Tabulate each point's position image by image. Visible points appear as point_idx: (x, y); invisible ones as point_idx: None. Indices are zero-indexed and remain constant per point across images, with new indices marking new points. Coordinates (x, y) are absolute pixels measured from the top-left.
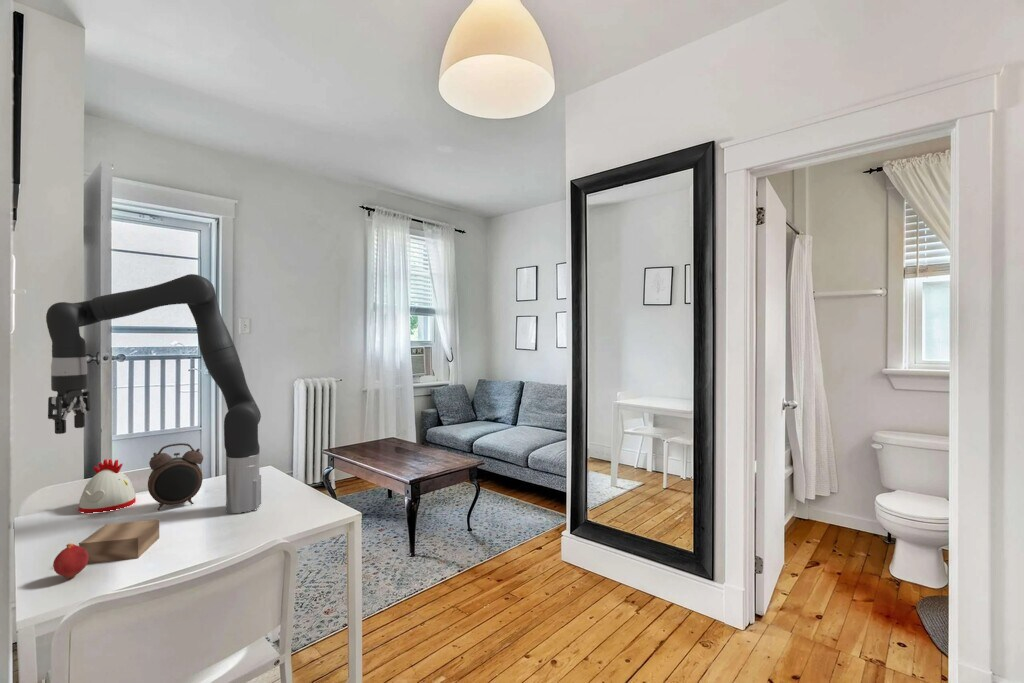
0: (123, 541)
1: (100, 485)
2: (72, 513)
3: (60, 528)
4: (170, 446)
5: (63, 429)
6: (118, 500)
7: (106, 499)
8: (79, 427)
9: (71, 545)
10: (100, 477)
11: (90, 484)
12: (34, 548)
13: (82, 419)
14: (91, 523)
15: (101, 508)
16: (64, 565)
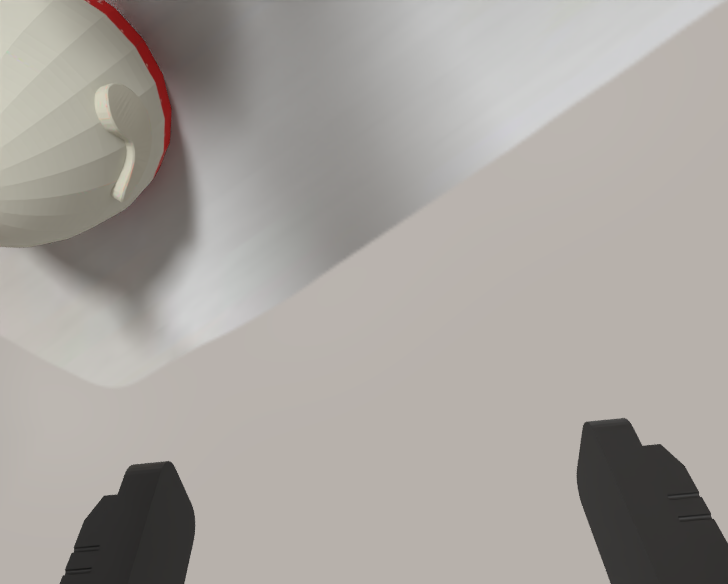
0: None
1: (79, 136)
2: (168, 198)
3: (358, 117)
4: None
5: (641, 466)
6: (75, 8)
7: (116, 62)
8: (180, 487)
9: None
10: (34, 174)
11: (81, 201)
12: (589, 59)
13: (133, 579)
14: (305, 6)
15: (149, 67)
16: None
